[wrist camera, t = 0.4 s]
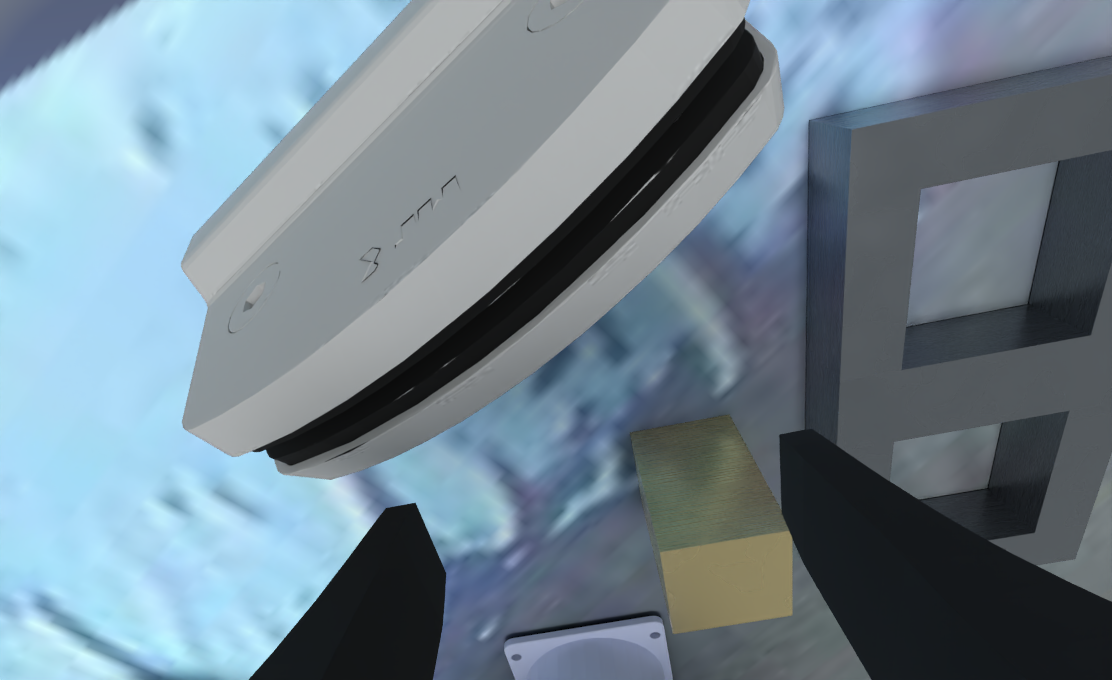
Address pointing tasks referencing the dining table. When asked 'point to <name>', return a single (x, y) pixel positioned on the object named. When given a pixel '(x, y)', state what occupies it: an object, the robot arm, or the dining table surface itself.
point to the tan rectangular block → (712, 526)
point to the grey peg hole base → (982, 339)
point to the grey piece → (463, 216)
